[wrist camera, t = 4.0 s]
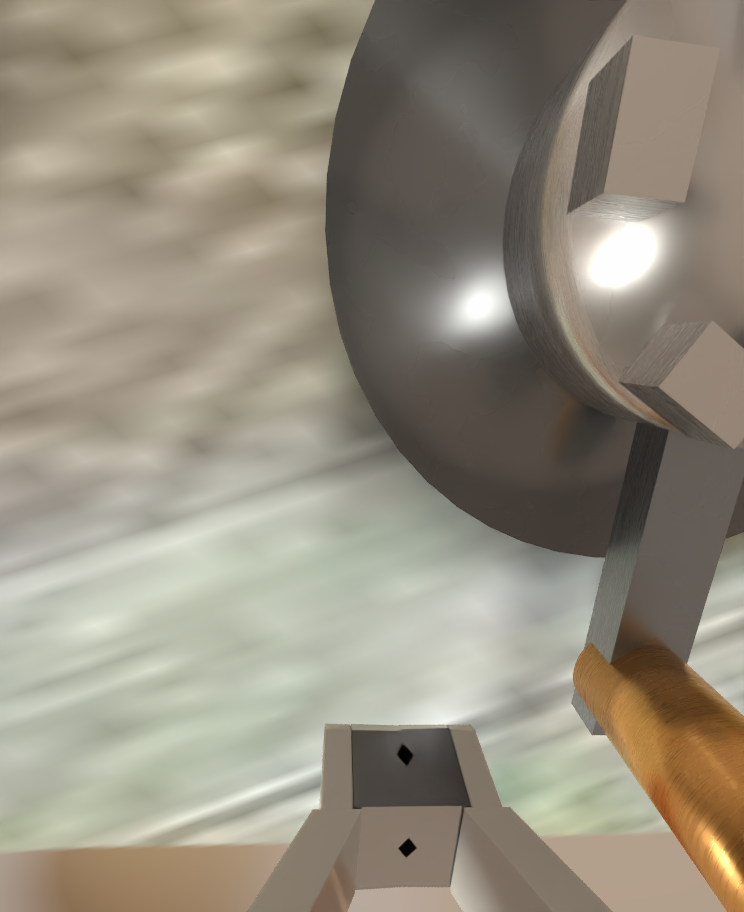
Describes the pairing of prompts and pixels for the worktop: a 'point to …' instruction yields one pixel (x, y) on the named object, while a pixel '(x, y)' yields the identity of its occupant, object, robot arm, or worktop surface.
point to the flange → (463, 264)
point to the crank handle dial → (650, 377)
